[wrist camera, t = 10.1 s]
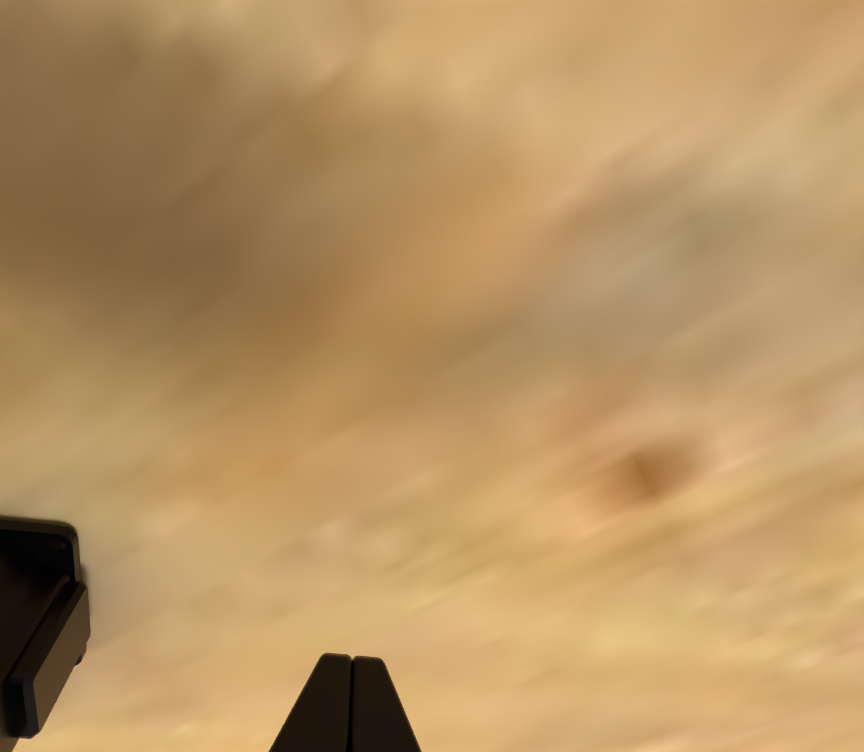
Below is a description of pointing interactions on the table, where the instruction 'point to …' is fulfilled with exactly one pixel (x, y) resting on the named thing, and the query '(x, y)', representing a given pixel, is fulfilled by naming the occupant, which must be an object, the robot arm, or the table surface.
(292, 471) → the table surface
